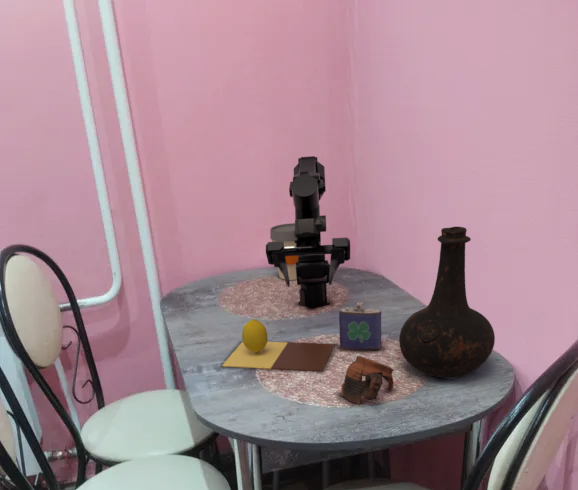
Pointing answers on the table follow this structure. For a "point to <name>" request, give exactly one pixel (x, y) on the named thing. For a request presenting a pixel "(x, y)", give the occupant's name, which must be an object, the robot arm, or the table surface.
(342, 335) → the flask
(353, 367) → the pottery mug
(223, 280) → the table surface
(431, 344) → the glass bottle
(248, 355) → the board
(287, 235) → the reusable coffee cup
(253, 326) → the lemon
